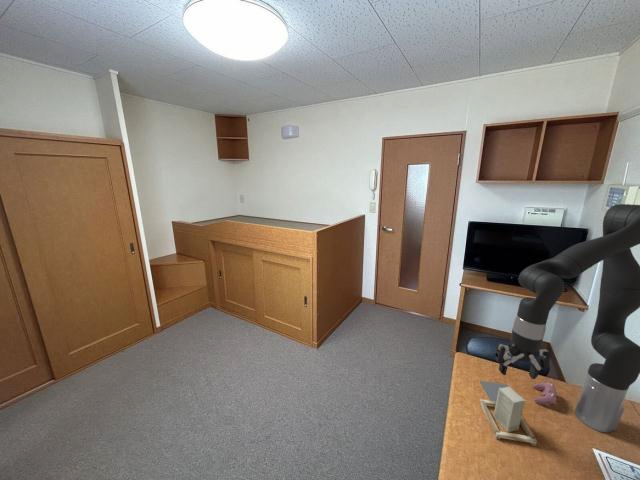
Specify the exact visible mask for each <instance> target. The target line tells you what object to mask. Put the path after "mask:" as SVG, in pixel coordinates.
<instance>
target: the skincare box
mask: <svg viewBox="0 0 640 480" xmlns="http://www.w3.org/2000/svg"><path fill="white" fill-rule="evenodd" d="M525 402H526V400H525V399H524V398H523V397H522V396H520V395H519V394H518V392H516V391H515V390H514V389H513V388H512V387H511V386H509V387H501V388H499V390H498V396H497V401H496V406H495V407H494V412H493V418H494V420H496V421H497V422H498V423H499V424H500V425H501V427H503V429H504V430H505V432H507V433H512V432H515V431H519V429H520V426H521V424H520V421H521V416H522V415H523V412H524V406H525ZM522 417H523V416H522Z"/></svg>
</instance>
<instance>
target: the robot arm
mask: <svg viewBox="0 0 640 480" xmlns="http://www.w3.org/2000/svg"><path fill="white" fill-rule="evenodd" d="M638 245H640V204H629V203H619V204H618V203H617V204H614V205H612V206H610V207H609V208H608V209H607V211H606V212H605V214H604V216H603V220H602V236H600V237H597V238H592V239H589V240H586V241H583V242H582V241H581V242H579V243H576V244H573V245H571V246H570V247H568V248H567V249H564V250H563V251H561V252H560V253H558V254H557V255H556V256H554V257H552V258H549V259H544V260H542V261H540V262H536V263H534V264H530V265H529V266H527V267H526V268H524V269H523V270H522V271H521V272H520V273H519V276H518V283H519V285H520V286H521V287H523V288H524V289H526V290H528V291H530V292H531V293H533V294H536V297H529V296H528V297H526V296H525V297H524V298H522V299H521V300H520V301H519V304H518V309H517V313H516V316H515V319H514V321H513V326H512V329H511V330H512V331H511V334H510V338H509V341H510V342H509V343H508V345H505V344H502V342H499V343H497V344H496V345H497V346H496V349H495V352H494V355H493V357H494V360H495V361H496V362H497V363H498V364H499V366H498V371H499V372H500V374H501V375H502V376H507V372H508V371H507V370H508V365H509V364H511V363H512V364H514V363H515V362H516V361H517V362H525V363H529V362H530V363H531V364H530V367H529V368H530V369H529V371H528V375H529V377H530V378H531V379H533V380H536V378H538V376H539V372H540V371H541V370H542V369H544V370H548V369H549V365H550V361H551V355H552V354H551V353H550V351H548V350H547V348H545V347H542V345H543V342H544V337H545V334H546V328H547V322H548V319H549V314H550V311H551V310H552V309H553V307H554V306H555V304H556V303H557V301H558V300H559V299H560V298H561V296H562V295H563V293H564V292H565V281H564V280H563V279H573V278H576V277H577V276H579V275H581V274H583V273H584V272H585V271H587V270H589V269H590V268H592V267H593V266H596V265H597V264H598V263H601V262H602V270H601V277H600V287H599V298H598V299H599V300H598V306H597V315H596V319H595V323H594V327H593V329H592V333H591V338H590V343H591V346H592V348H593V349H594V351H596V353H598V355H600V356H601V357H602V358H603V359H604V360H605V361H604V362H603V363H597V362H594V363H591V364H590V365H589V366H588V369H587V373H586V376H585V378H584V382H583V385H582V388H581V390H580V394H579V395H578V396H579V397H578V399H577V403H576V406H575V409H574V414H575V416H576V418H577V419H579V421H581V422H582V423H583V424H585V425H586V426H587V427H589V428H591V429H593V430H596V431H598V432H601V433H606V434H607V433H611V432H612V431H617V428H618V426H619V423H620V420H621V419H622V415H623V413H624V410H625V407H624V405H623V403H624V401H625V398H626V396H627V393H628V391H629V388H630V386H631V385H633V384H634V383H636V381H637V380H638V377H639V375H640V345H639V344H638V343H635V342H634V341H633V340H631V339H630V338H628V337H627V336H626V335H625V329H626V321H627V319H628V317H629V316H631V315H632V314H634V312H636V311H637V310H638V309H640V264H639V262H638V261H637V260H636V258H635V256H634V255H633V252H632V249H631V248H633V247H636V246H638ZM511 356H512V357H511ZM538 356H539V359H538V361H537V359H536V358H537V357H538Z"/></svg>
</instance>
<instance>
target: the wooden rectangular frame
mask: <svg viewBox="0 0 640 480" xmlns="http://www.w3.org/2000/svg"><path fill="white" fill-rule="evenodd" d="M478 404H479V406H480V407H481V408H482V411H483V412H484V414H485V416H486V418H487V421H488V422H489V425H490V426H491V428H492V431H493V433H494V438H495V439H496V440H501V438H502V439H507V440H513V441H517V442H524V443H529V444H530V446H537V442H538V440H537V439H536V437H535V435H534V434H533V432H532V430H531V429H530V427H529V425H528V424H527V423H526V421H525V419H524V418H523V416H521V421H520V426H521V427H522V429H523V431H524V432H525V434H526V435H525V434H520V433H519V434H517V433H512V432H507V431H501V430H499V428H498V425H497V424H496V421H495V419H494V417H493V415H492V414H491V412H490V410H489V408H488V406H489V407H494V408H495V406H496V402H495V401H490V400H489V399H488V400H487V399H481V398H479V402H478Z"/></svg>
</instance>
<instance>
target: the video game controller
mask: <svg viewBox="0 0 640 480" xmlns="http://www.w3.org/2000/svg"><path fill="white" fill-rule="evenodd" d="M533 388H534V389H535V390H537V391H542V393H541V395H542V396H538V397H535V398H534V399H533V401H534V402H535V403H536V404H537V405H553V404H555V403H557V388H556V386H555V385H553V384H552V383H550V382H549V381H548V382H547V381H545V382H539V383H534V384H533Z"/></svg>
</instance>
